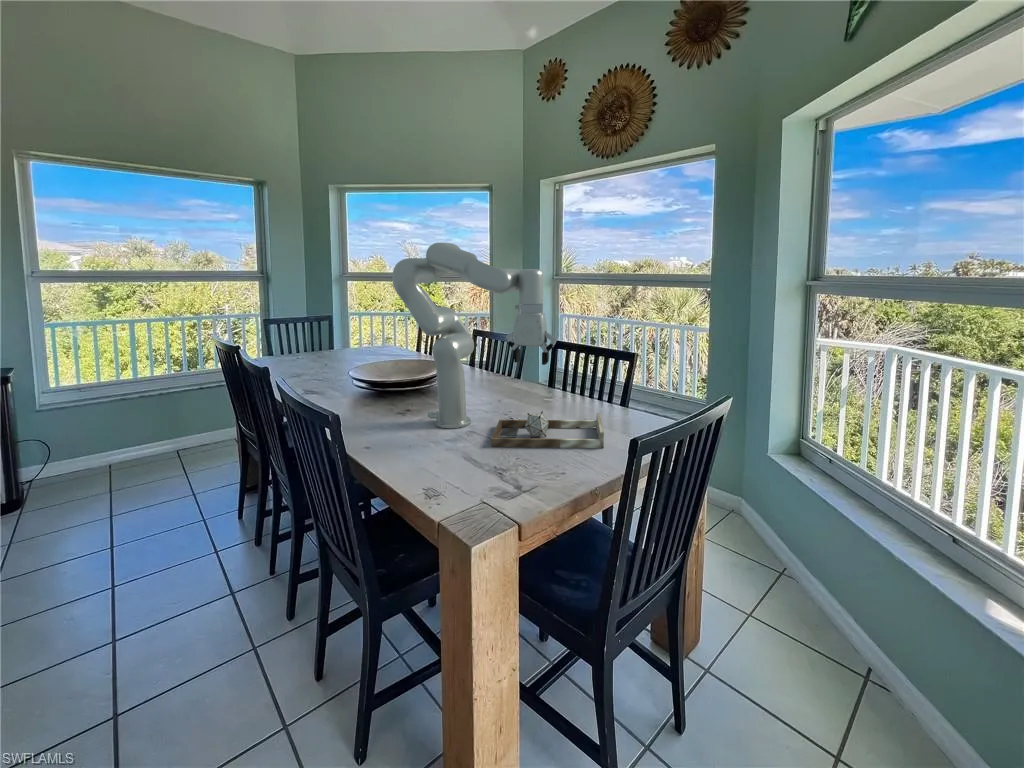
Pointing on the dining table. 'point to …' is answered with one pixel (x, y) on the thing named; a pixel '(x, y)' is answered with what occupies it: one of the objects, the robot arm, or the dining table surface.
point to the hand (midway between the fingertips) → (530, 362)
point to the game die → (537, 424)
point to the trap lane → (510, 441)
